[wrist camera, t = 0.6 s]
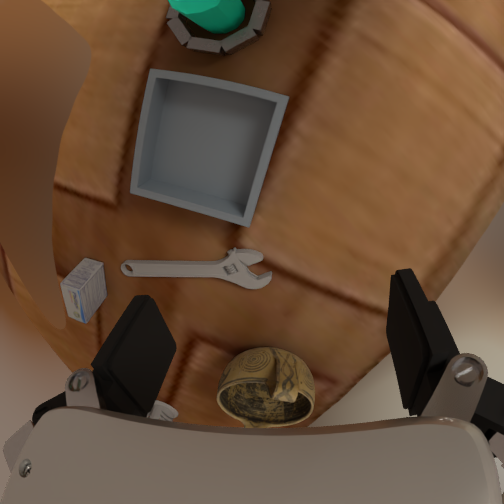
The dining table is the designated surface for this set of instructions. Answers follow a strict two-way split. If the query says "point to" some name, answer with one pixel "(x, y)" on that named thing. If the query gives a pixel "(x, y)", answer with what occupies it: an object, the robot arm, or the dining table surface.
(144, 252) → the dining table surface
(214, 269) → the adjustable wrench
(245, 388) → the ceramic bowl
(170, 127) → the bin
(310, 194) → the dining table surface
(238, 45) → the collar
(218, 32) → the candle
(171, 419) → the french press
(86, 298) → the medicine box
